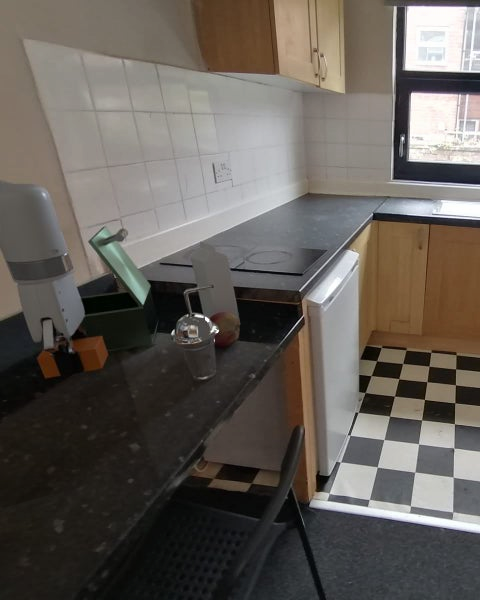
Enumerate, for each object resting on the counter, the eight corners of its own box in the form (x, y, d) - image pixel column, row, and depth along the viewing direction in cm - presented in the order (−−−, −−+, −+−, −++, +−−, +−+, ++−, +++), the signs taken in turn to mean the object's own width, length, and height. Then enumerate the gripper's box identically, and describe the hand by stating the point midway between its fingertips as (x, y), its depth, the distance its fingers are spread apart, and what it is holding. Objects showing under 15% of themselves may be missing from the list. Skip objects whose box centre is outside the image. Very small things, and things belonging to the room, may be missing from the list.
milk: (227, 319, 107) (211, 238, 98) (240, 325, 104) (226, 242, 95) (205, 328, 102) (187, 243, 93) (219, 334, 99) (201, 248, 90)
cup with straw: (205, 360, 88) (185, 275, 80) (237, 368, 85) (221, 281, 77) (172, 381, 81) (147, 290, 73) (207, 391, 78) (184, 297, 70)
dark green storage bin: (71, 360, 88) (55, 320, 84) (86, 334, 99) (73, 297, 95) (153, 346, 94) (142, 307, 90) (159, 323, 105) (149, 287, 101)
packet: (44, 378, 67) (36, 358, 65) (54, 363, 71) (47, 343, 69) (102, 368, 70) (95, 348, 68) (108, 354, 74) (102, 335, 72)
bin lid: (87, 241, 81) (112, 231, 82) (102, 227, 92) (124, 218, 93) (139, 307, 90) (161, 296, 91) (147, 287, 100) (167, 278, 101)
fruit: (226, 356, 90) (219, 325, 86) (200, 350, 92) (192, 319, 89) (250, 340, 96) (245, 310, 93) (225, 334, 99) (219, 305, 96)
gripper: (32, 253, 69) (66, 345, 76) (-16, 289, 54) (32, 398, 62) (85, 248, 71) (113, 338, 79) (53, 282, 57) (91, 387, 65)
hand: (77, 363), depth 70 cm, fingers closed on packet, 5 cm apart
